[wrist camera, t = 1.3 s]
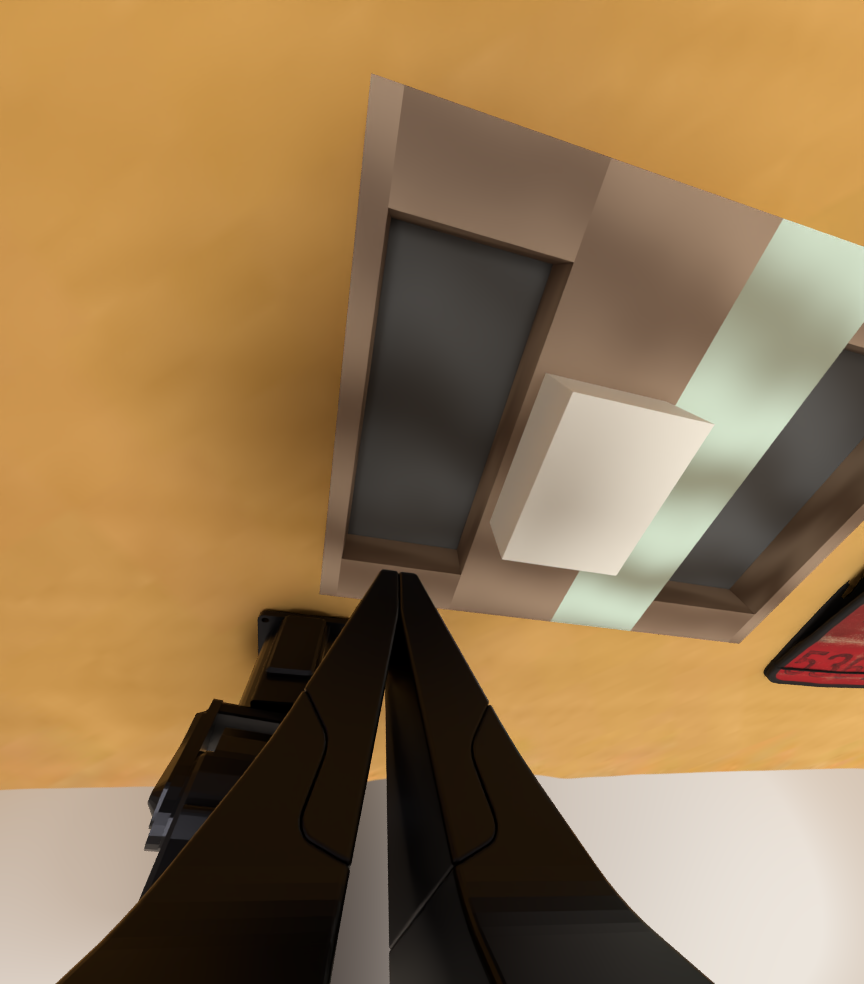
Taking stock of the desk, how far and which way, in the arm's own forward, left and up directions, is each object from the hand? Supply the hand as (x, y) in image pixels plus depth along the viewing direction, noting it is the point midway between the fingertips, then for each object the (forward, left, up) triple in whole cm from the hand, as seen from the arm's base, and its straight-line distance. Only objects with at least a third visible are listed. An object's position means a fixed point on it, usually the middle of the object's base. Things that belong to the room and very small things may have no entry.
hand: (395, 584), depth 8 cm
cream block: (0, -9, -9) cm, 13 cm away
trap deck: (0, -12, -12) cm, 17 cm away
